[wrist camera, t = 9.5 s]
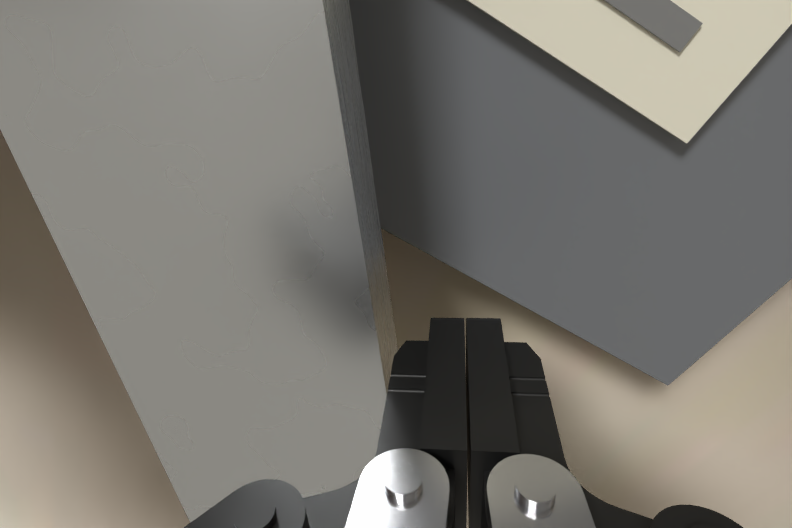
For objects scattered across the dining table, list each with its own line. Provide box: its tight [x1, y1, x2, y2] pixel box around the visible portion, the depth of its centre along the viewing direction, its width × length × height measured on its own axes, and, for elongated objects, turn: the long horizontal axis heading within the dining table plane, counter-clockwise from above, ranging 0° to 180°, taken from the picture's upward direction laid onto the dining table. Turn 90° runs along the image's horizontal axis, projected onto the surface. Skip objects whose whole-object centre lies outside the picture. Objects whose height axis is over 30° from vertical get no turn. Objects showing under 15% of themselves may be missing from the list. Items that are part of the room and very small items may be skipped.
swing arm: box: [0, 0, 398, 523], centre depth 10 cm, size 19×6×4 cm, turn 7°
